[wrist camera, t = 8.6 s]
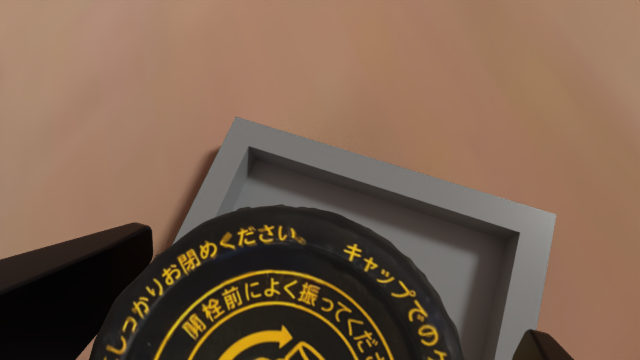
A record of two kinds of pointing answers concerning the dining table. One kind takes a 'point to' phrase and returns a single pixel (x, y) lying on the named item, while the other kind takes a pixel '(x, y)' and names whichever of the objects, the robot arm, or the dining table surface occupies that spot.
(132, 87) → the dining table surface
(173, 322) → the condiment
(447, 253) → the slate tray
